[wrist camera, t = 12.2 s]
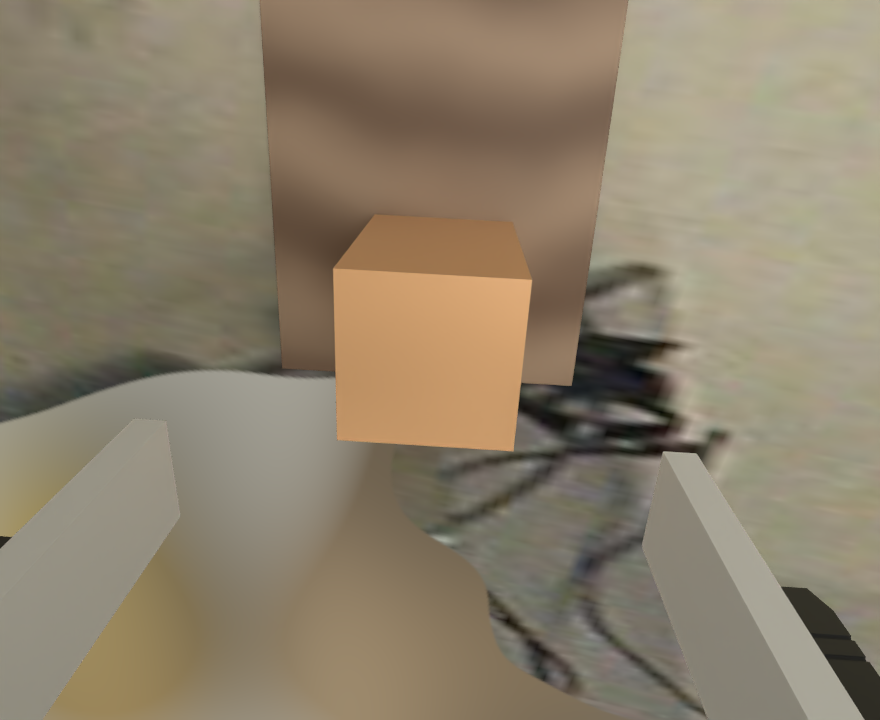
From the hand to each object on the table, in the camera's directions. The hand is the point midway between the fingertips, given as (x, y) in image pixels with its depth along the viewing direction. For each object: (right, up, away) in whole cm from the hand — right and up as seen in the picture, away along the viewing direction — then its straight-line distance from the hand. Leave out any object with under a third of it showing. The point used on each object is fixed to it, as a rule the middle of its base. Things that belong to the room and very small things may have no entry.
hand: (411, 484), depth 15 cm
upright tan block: (+1, +7, +15) cm, 17 cm away
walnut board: (+1, +15, +13) cm, 20 cm away
